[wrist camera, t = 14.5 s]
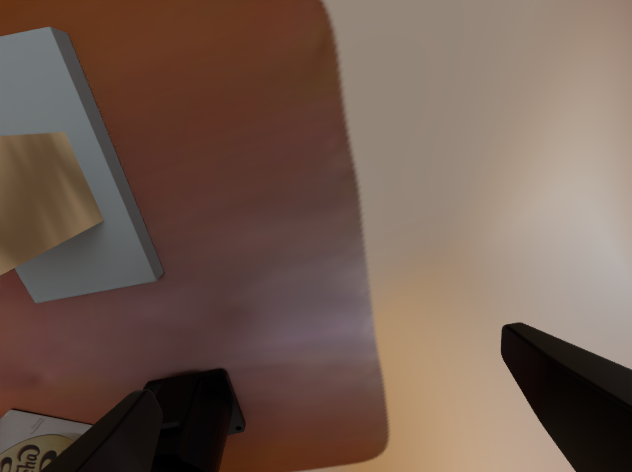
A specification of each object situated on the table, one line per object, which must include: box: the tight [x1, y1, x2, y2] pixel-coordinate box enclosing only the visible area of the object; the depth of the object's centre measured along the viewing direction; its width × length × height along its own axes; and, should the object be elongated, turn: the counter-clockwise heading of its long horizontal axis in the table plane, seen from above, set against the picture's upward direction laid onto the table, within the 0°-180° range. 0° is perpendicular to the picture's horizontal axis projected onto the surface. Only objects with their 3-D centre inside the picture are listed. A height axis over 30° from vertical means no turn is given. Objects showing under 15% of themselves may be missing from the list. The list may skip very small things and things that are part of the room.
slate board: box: [0, 27, 164, 303], centre depth 18 cm, size 14×8×1 cm, turn 10°
